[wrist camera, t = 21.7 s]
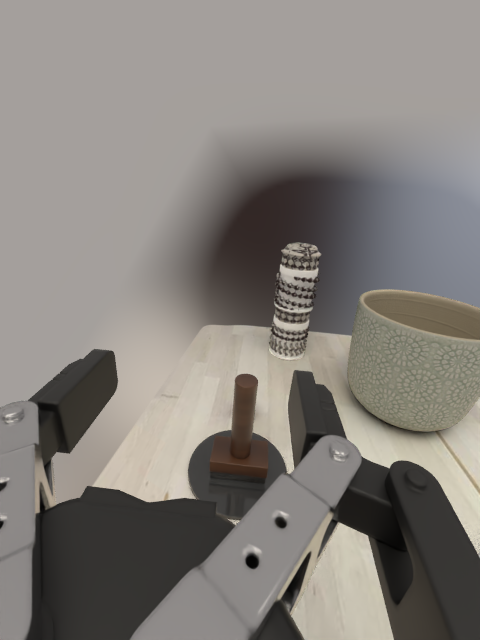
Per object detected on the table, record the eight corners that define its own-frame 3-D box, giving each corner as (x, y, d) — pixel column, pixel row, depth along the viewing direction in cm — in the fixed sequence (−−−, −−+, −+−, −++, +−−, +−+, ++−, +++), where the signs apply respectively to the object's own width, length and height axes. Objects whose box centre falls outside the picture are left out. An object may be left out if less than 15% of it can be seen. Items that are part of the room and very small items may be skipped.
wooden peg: (265, 485, 36) (279, 395, 30) (209, 478, 36) (211, 388, 31) (265, 457, 40) (277, 372, 34) (214, 451, 40) (218, 366, 35)
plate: (186, 525, 32) (186, 522, 31) (189, 434, 43) (189, 431, 43) (299, 514, 33) (300, 512, 33) (273, 430, 45) (274, 427, 45)
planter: (490, 430, 48) (547, 329, 41) (408, 471, 40) (460, 353, 32) (387, 365, 65) (412, 285, 58) (314, 384, 57) (333, 294, 49)
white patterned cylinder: (311, 349, 70) (331, 245, 60) (298, 365, 63) (318, 250, 53) (277, 338, 74) (290, 239, 64) (260, 353, 67) (272, 243, 57)
